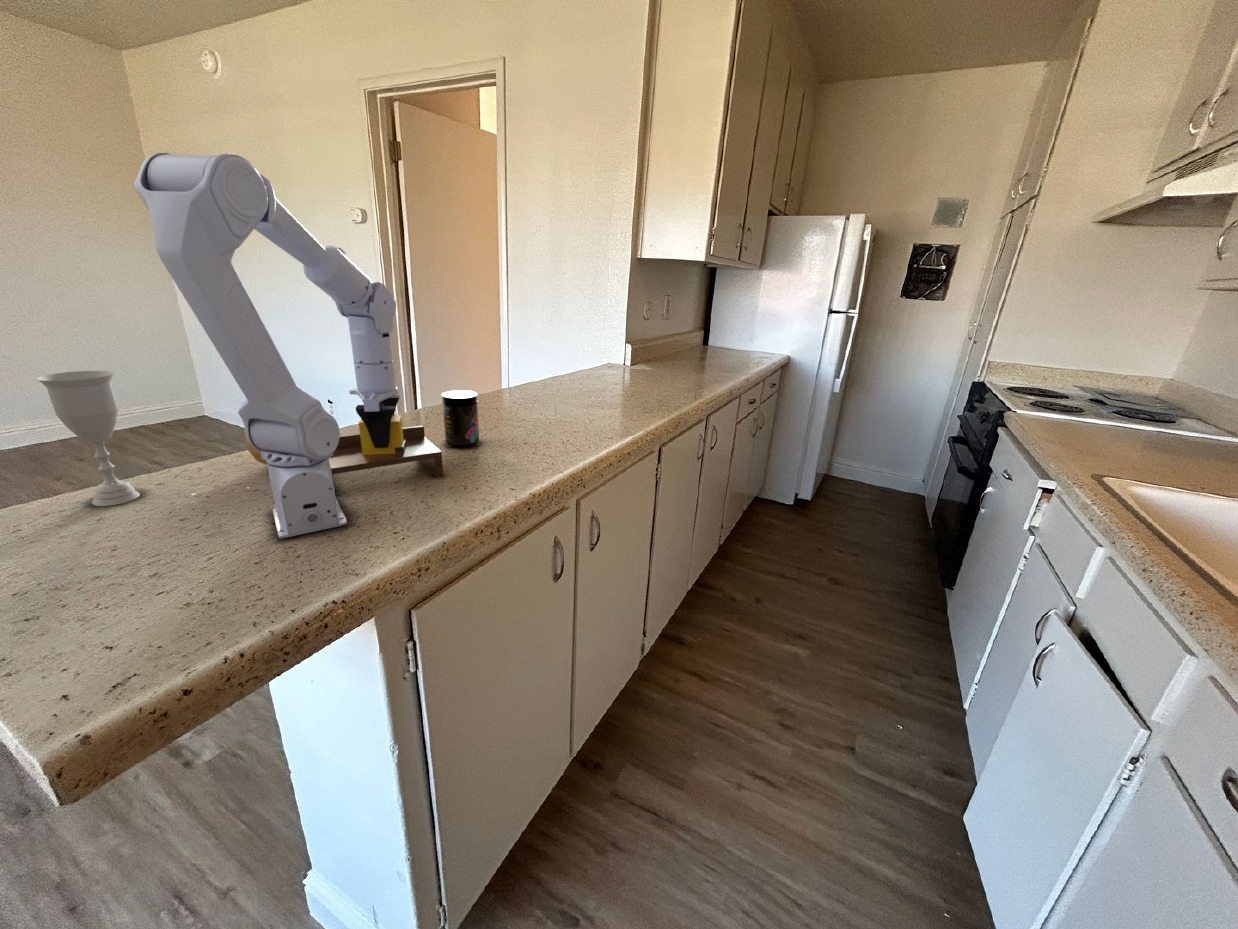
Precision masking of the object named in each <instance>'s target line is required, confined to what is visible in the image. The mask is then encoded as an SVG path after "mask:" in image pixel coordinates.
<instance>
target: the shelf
mask: <svg viewBox="0 0 1238 929" xmlns="http://www.w3.org/2000/svg"><path fill="white" fill-rule="evenodd" d="M403 437H404V440H406V447H405V451H404V453H396V454H374V455H363V453H362V445H361V439H360V432H358V433H351V434H342V435H341V434H340V438H339V443H338V445H337V448H336V449H335V451H334V452H333V456H331V457H329V460H330V466H331V472H332V475H337V474H338V475H339V474H343V473H344V474H345V473H351V472H356V471H363V470H369V469H370V470H371V469H375V468H376V469H377V468H381V467H388V466H394V465H399V464H406V463H412V462H419V461H420V462H421V463H422V464H423V465H424V466H425V467H426V468H427V469H428V470H429V471H430V472H431V473H432V474H433V475H434V476H435V477H436V478H438V477H439V478H440V477H443V476H444V467H443V453H442V451H441V449H440V448H438V447H437V446H436V445H435V444H433V442H431V440H429V439H427V437H426V432H425V426H424V425H416V426H414V425H413V426H407V427H403Z"/></svg>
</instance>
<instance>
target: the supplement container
mask: <svg viewBox="0 0 1238 929" xmlns="http://www.w3.org/2000/svg"><path fill="white" fill-rule="evenodd" d="M441 401H442V402H441V403H442V412H443V425H444V438H445V444H446V445H447V447H450V448H452V449H470V448H473V447H475V446H477V445H478V444H479V442H480V432H479V431H480V429H479V428H480V426H479V425H480V424H479V407H478V406H479V405H478V393H477V392H475V391H473V390H450V391H446V392H442V393H441Z"/></svg>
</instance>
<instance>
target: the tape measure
mask: <svg viewBox="0 0 1238 929" xmlns="http://www.w3.org/2000/svg"><path fill="white" fill-rule="evenodd" d="M358 428H359V429H358V430H359V433H360V439H361V445H362V453H363V455H374V454H396V453H404V451H405V447H406V440H404V437H403V428H404V427H403V419H402V414H398V415H397V414H396V415H395V414H394V415H392V419H391V425H390V441H389V446H388V447H387V448H375V447H374V445H373V443H372V441H371V438H370V435H369V432H368V430H367V427H366V425H365V424H364V422H363V420H362V419H361V418H360V420H359V421H358Z"/></svg>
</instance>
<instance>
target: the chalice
mask: <svg viewBox="0 0 1238 929" xmlns="http://www.w3.org/2000/svg"><path fill="white" fill-rule="evenodd" d="M113 377H114V372H113V371H109V370H78V371H66V372H55V373H50V374H46V375H41V376H39V377H36V379H37V381H38V382H39V383H40V384H42V385H43V386H45V387H46V391H47V393H48V396H49V398H50V402H51V405H52V407H53V410H54V413H55V415H56V417H57V418H58V419H59V421H60V422H61V423H62V424H63V425H64V426H65V427H66V428H67V429H68V430H69V431H70V432H71V433H73V434H74V435H75V436H76V437H78V438H79V439H80V440H81V441H82V442H84V443H91V444H92V445H93V446H94V448H95V454H94V458H96V459H97V460H98V461H99V466H98V468H97V470H99V471H101V473H102V475H103V476H104V480H102V483H100V484H98V485H97V487H96V488H95V489H94V491H95V493H94V494H93V500H92V502H91V504H92V506H93V505H94V506H96V507H111V506H116V505H121V504H125V503H128V502H132V501H134V500H135V499H138V498H139V497H140V496H141V494H140V493H139V492H138V491H137V490H135V488H134V486H132V485H131V483H129V482H128V481H126V480H120V479H119V478H117V477H116V476H115V475H114V468H115V467H116V465H115V464H113V463H111V462H110V456H111V452H109V451H108V450H107V448H106V447H105V442H106V441H108V440H110V439H111V438H112V436H113V433H114V430H115V428H116V424H117V421H118V415H119V410H120V409H119V405H118V401H117V397H116V394H115V390H114V388H113V385H112V379H113ZM117 482H118V483H117ZM111 483H114V484H111ZM101 485H103V486H101ZM98 486H100V487H98Z"/></svg>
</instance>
